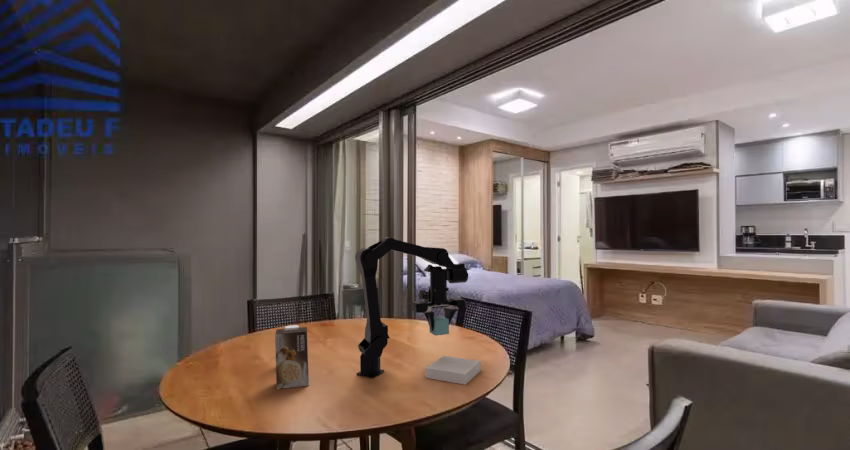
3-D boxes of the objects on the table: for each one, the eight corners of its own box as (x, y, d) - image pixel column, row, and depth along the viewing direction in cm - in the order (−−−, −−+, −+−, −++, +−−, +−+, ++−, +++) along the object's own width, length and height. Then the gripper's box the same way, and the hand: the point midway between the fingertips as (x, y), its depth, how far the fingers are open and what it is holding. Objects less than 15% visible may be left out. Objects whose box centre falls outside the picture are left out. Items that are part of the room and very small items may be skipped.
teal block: (435, 335, 132) (435, 320, 132) (429, 332, 136) (429, 317, 136) (448, 334, 134) (448, 319, 134) (442, 330, 138) (442, 316, 138)
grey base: (465, 384, 115) (465, 374, 115) (425, 377, 121) (425, 367, 121) (480, 370, 126) (480, 361, 126) (444, 364, 132) (443, 355, 132)
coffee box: (309, 378, 122) (308, 326, 122) (308, 386, 116) (308, 331, 116) (277, 382, 119) (276, 328, 120) (275, 390, 113) (274, 333, 113)
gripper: (451, 280, 146) (452, 322, 146) (404, 283, 139) (405, 328, 139) (466, 283, 136) (467, 329, 136) (416, 287, 129) (417, 335, 128)
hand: (439, 330), depth 135 cm, fingers closed on teal block, 5 cm apart
